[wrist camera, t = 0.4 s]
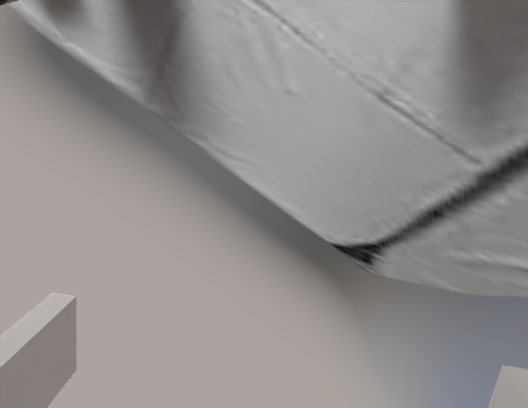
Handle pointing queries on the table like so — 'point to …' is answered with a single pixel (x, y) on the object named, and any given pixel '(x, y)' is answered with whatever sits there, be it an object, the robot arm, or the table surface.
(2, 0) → the travel mug
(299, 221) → the table surface
